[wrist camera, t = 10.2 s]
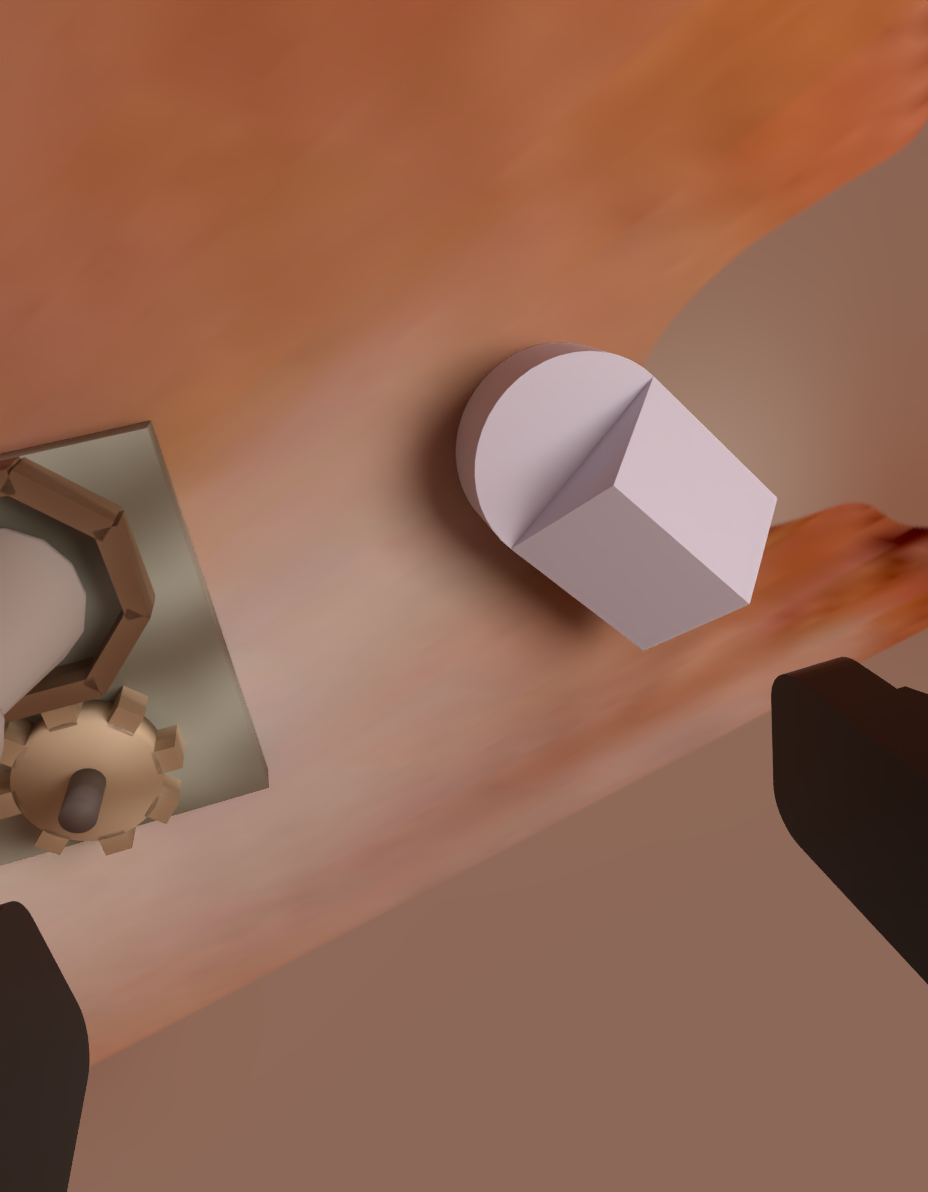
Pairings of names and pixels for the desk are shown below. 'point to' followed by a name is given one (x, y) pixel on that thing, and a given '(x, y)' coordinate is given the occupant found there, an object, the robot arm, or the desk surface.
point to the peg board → (169, 631)
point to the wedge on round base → (613, 490)
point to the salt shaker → (34, 614)
